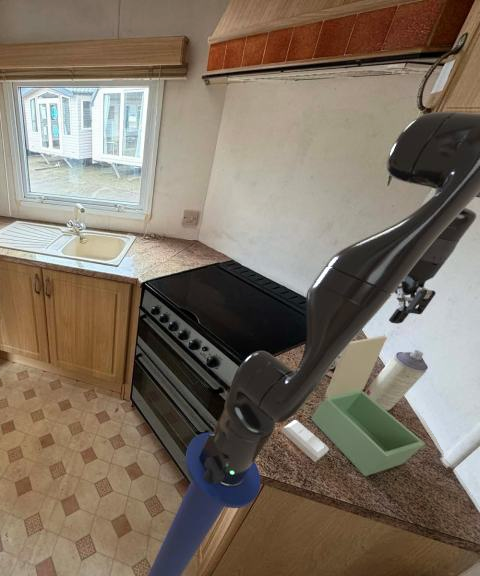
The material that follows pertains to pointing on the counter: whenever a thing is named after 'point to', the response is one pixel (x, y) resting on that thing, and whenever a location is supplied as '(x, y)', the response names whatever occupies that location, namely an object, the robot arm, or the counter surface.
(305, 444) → the white light switch
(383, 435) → the container
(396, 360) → the aerosol can
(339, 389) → the lid
